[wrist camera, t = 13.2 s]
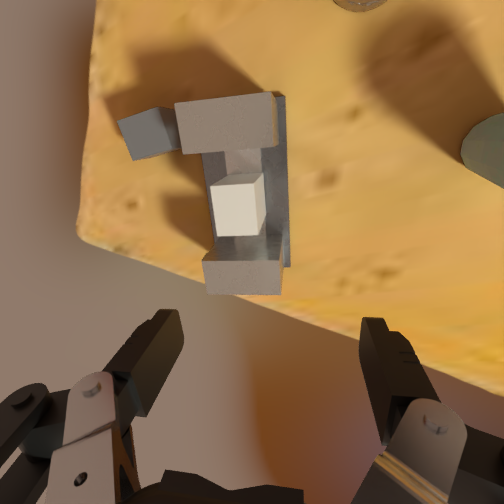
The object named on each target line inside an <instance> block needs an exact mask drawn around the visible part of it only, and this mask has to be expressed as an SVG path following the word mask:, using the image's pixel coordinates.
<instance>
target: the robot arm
mask: <svg viewBox="0 0 504 504" xmlns="http://www.w3.org/2000/svg"><path fill="white" fill-rule="evenodd" d="M334 1H335V2H336V3H337V4H338V5H339V6H341V7H342V8H344V9H346V10H349V11H353V12H364V11H368V10H371V9H374V8H376V7H378V6H380V5H381V4H383V3H384V2H386V1H387V0H334ZM183 344H184V334H183V330H182V325H181V321H180V317H179V312H178V311H177V310H176V309H159V310H158V311H157V313H156V314H155V315H154V316H153V318H152V319H151V320H147V321H145V322H144V323H143V324H141V325H140V326H138V327H137V329H136V330H135V331H134V332H133V333H132V335H131V337H129V338H128V339H127V341H126V342H125V345H123V346H122V347H121V348H120V349H119V351H118V352H117V353H116V354H115V355H114V357H113V358H112V359H111V360H110V362H109V363H108V364H107V365H106V367H105V368H104V369H103V370H102V371H101V372H95V373H92V374H90V375H88V376H86V377H84V378H82V379H81V380H80V381H78V382H77V383H76V384H75V385H74V386H73V387H72V389H68V390H63V391H58V392H53V393H49V391H48V389H47V387H46V385H44V384H42V383H34V384H31V385H27V386H25V387H22V388H20V389H18V390H17V391H15V392H13V393H12V394H11V395H9V396H8V397H7V398H6V399H5V400H4V401H3V402H2V403H0V468H1V466H2V465H3V464H4V463H5V462H6V460H7V459H8V458H9V457H10V455H11V454H12V453H13V452H14V451H15V450H16V448H17V447H19V448H20V450H21V451H22V453H21V454H20V455H19V457H18V458H17V459H16V460H15V462H14V463H13V464H12V465H11V467H10V468H9V469H8V470H7V472H6V473H5V474H4V475H3V477H2V478H1V479H0V504H36V502H37V500H38V499H39V498H40V496H41V495H42V493H43V492H44V490H45V488H46V487H47V492H46V499H45V504H306V503H304V496H303V495H304V494H303V490H300V489H294V488H287V487H280V486H274V485H262V486H256V487H250V488H244V489H238V490H227V489H224V488H222V487H221V486H219V485H217V484H215V483H213V482H211V481H209V480H207V479H205V478H203V477H201V476H199V475H197V474H192V473H185V472H179V471H172V470H165V472H164V474H163V477H162V479H161V482H158V483H155V484H152V485H149V486H147V487H144V488H142V489H141V485H140V482H139V478H138V472H137V464H136V456H135V448H134V440H133V432H132V426H131V422H132V420H133V419H134V417H135V416H140V417H147V415H148V413H149V411H150V409H151V407H152V405H153V403H154V402H155V400H156V398H157V396H158V394H159V392H160V390H161V388H162V386H163V385H164V383H165V381H166V379H167V377H168V375H169V373H170V371H171V369H172V368H173V365H174V363H175V362H176V360H177V358H178V356H179V354H180V352H181V350H182V348H183ZM359 359H360V364H361V368H362V372H363V375H364V379H365V383H366V387H367V391H368V394H369V398H370V402H371V406H372V409H373V413H374V417H375V421H376V425H377V429H378V432H379V436H380V440H381V444H382V445H384V446H387V447H386V449H385V451H384V453H383V454H382V455H380V454H379V455H378V456H377V457H376V459H375V461H374V462H373V464H372V466H371V467H370V470H369V471H368V473H367V475H366V477H365V478H364V480H363V482H362V484H361V486H360V488H359V489H358V491H357V493H356V495H355V497H354V498H353V500H352V502H351V504H447V503H449V504H504V439H502V438H499V437H496V436H493V435H491V434H488V433H485V432H482V431H479V430H477V429H474V428H472V427H470V426H468V425H466V424H464V423H463V421H462V420H461V418H460V417H459V416H458V415H457V414H456V413H455V412H454V411H453V410H451V409H450V408H449V407H447V406H446V405H444V404H442V403H441V401H440V400H439V398H438V396H437V394H436V392H435V390H434V388H433V386H432V384H431V382H430V380H429V378H428V376H427V375H426V373H425V371H424V369H423V367H422V365H421V364H420V361H419V359H418V357H417V355H415V351H414V350H413V348H412V346H411V344H410V342H409V341H408V340H407V339H406V338H405V337H404V336H403V335H402V334H401V333H399V332H396V331H389V329H388V327H387V324H386V322H385V320H384V319H383V318H374V317H363V318H362V323H361V331H360V340H359Z"/></svg>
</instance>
